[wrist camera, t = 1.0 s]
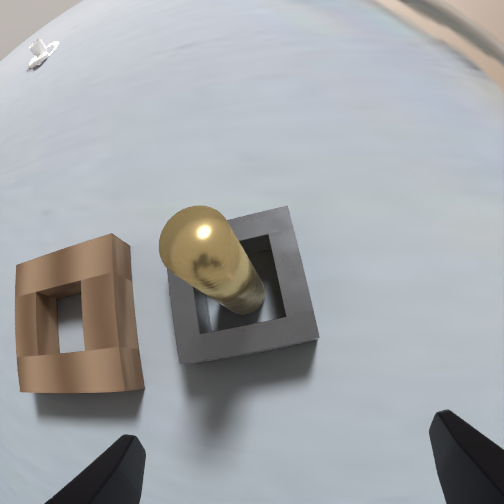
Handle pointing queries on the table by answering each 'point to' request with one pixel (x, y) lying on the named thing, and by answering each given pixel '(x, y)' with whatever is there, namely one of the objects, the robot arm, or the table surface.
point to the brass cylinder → (211, 259)
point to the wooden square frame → (93, 313)
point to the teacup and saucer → (40, 51)
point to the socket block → (255, 335)
